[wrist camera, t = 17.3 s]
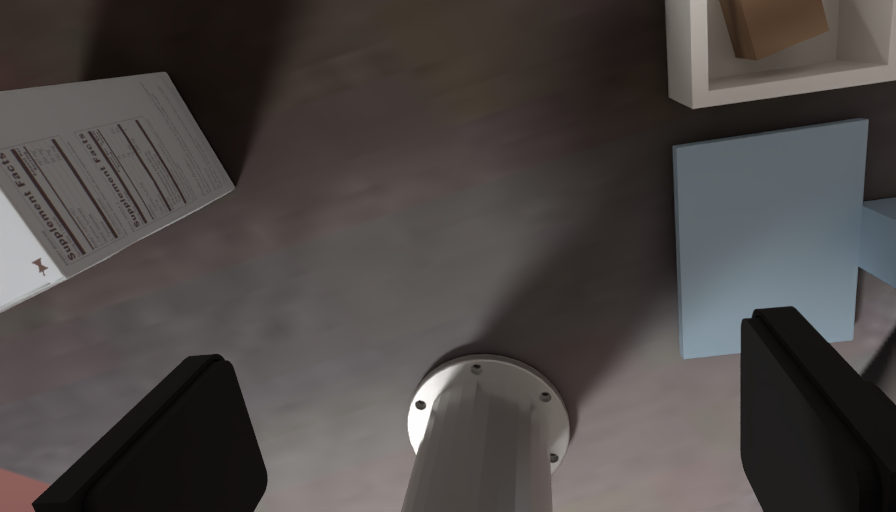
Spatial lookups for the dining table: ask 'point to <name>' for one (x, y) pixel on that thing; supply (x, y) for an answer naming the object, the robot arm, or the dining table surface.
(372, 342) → the dining table surface
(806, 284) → the lid
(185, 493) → the robot arm
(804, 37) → the part cube
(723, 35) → the tub
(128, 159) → the supplement box
